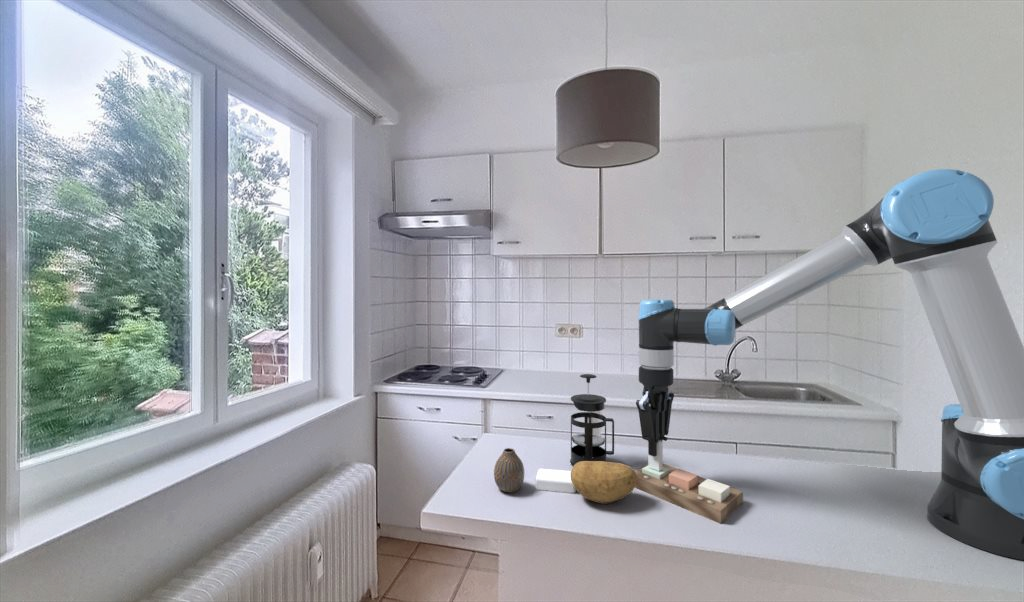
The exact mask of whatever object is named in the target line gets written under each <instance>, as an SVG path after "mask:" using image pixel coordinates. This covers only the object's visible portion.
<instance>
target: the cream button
mask: <svg viewBox="0 0 1024 602" xmlns="http://www.w3.org/2000/svg"><path fill="white" fill-rule="evenodd" d="M706 479H707V480H705V481H704V482H702V483H701V484H700V485H699V494H700V495H702V496H705V497H707V498H710V499H713V500H715V501H718V502H721V503H722V502H724V501H725V500H726V499H727V498H728V497H730V487H731V486H730V485H728V484H724V483H722V482H718V481H715V480H713V479H710V478H706Z"/></svg>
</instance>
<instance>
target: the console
mask: <svg viewBox="0 0 1024 602" xmlns="http://www.w3.org/2000/svg"><path fill="white" fill-rule="evenodd" d="M646 466H648V463H647V464H646V465H643V466H642V467H640V468H638V469H636V470H634V472H635V473H636V475H637V478H638V480H637V483H636V485H635V487H634V489H637V490H640V491H642V492H643V493H644V492H645V493H646V494H649V495H652V496H654V497H657V498H658V499H661V500H663V501H666V502H668V503H671V504H673V505H675V506H677V507H680V508H683V509H685V510H688V511H690V512H692V513H695V514H697V515H700V516H702V517H704V518H706V519H709V520H711V521H713V522H716V523H719V524H722V523H723V522H724V521H725V520H727V518H728V517H730V516H731V515H732V514H733V513H734V512H735V511H736V510H737V509H738V508H739V507H741V506H742V505H743V502H744V500H743V499H744V492H743V491H742V490H740V489H737V488H734V487H732V486H730V497H728V498H727V499H726V500H725V501H724V502H722V503H721V502H718V501H715V500H713V499H710V498H707V497H705V496H702V495H700V494H699V485H700V484H701V483H702V482H704V481H705V480H707V479H708V478H705V477H703V476H699V475H698V485H696V486H695V487H694V488H692V489H691V490H686V489H684V488H681V487H678V486H676V485H673V484H671V483H669V475H667V476H665V477H664V478H662V479H657V478H655V477H652V476H650V475H647V474H644V473H642V468H644V467H646ZM662 467H664V468H667V469H670V473H672V472H673V471H675V470H677V469H678V468H677V467H674V466H671V465H668V464H664V463H663V464H662Z"/></svg>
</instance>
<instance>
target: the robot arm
mask: <svg viewBox="0 0 1024 602" xmlns="http://www.w3.org/2000/svg"><path fill="white" fill-rule="evenodd" d="M994 201H995V199H994V195H993V192H992V190H991V188H990V187H989V185H988V184H987V183H986V182H985V181H984V180H983V179H981V177H978V176H977V175H975V174H972V173H970V172H968V171H967V172H966V171H964V170H960V169H959V170H957V169H952V168H941V169H932V170H927V171H924V172H920V173H917V174H915V175H913V176H910V177H908V178H907V179H902V181H900V182H899V183H897V184H895V185H894V186H893V187H891V188H890V190H888V191H887V192H886V194H885V195H884V197H883V198H881V199H880V201H878V202H877V203H876V204H874V206H873V207H872V208H871V209H869V210H868V211H867V212H865V213H864V214H863V215H861V216H860V217H858V218H857V219H855V220H854V221H852V222H850V223H848V224H847V225H845V226H843V228H842V229H841V233H840V234H838V235H837V236H835V237H833V238H831V239H830V240H828V241H826V242H824V243H822V244H820V245H819V246H816V247H815V248H814V249H811V250H809V251H808V252H805V253H804V254H802V255H800V256H798V257H797V258H795V259H793V260H791V261H789V262H788V263H785V264H784V265H782V266H780V267H778V268H777V269H774V270H773V271H771V272H769V273H767V274H766V275H764V276H762V277H760V278H758V279H756V280H755V281H753V282H751V283H750V284H748V285H746V286H743V287H742V288H740V289H738V290H736V291H735V292H733V293H730V294H729V295H727V296H725V297H724V298H722V299H719V300H718V301H716V302H714V303H711V304H710V305H708V306H706V307H705V308H679V307H676V306H675V303H674V301H673V300H672V299H662V298H661V299H652V298H651V299H643V300H641V301H640V303H639V312H638V314H639V315H638V364H639V365H640V366H639V367H638V382H639V383H640V384H642V385H643V389H642V393H641V395H642V397H641V399H636V401H635V405H636V408H637V412H638V417H639V425H640V431H641V432H640V433H641V438H642V440H645V441H647V443H648V444H647V448H648V452H647V453H648V454H647V456H648V457H647V458H648V459H647V460H648V463H647V464H648V467H649V468H652V469H655V470H658V471H660V470H662V464H664V463H663V462H664V461H663V458H664V455H663V450H664V448H663V445H664V444H663V441H664V442H666V441H668V437H667V436H669V432H670V430H669V429H670V424H671V423H670V422H671V415H672V414H671V413H672V404H673V401H674V397H675V393H674V392H670V391H669V387H670V386H672V385H673V384H674V369H673V366H674V365H675V364H674V354H675V352H674V351H675V350H674V348H675V347H674V343H686V344H687V343H690V344H698V345H699V344H701V345H712V346H730V345H732V344H733V343H734V342H735V337H736V330H737V329H739V328H741V327H743V326H744V325H747V324H748V323H751V322H753V321H755V320H757V319H759V318H761V317H763V316H765V315H767V314H768V313H769V314H770V313H771V312H773V311H775V310H777V309H779V308H781V307H783V306H785V305H787V304H789V303H791V302H793V301H795V300H797V299H800V298H801V297H803V296H806V295H807V294H810V293H812V292H813V291H815V290H817V289H819V288H822V287H823V286H825V285H826V286H827V285H828V284H830V283H832V282H834V281H836V280H838V279H840V278H842V277H844V276H846V275H848V274H849V273H852V272H854V271H856V270H858V269H860V268H862V267H864V266H873V267H874V266H878V265H881V264H883V263H885V262H887V261H888V260H892V261H893V263H894V264H893V265H894V266H895V267H896V268H899V269H901V270H904V271H907V272H909V274H911V277H912V280H913V282H914V283H913V284H914V285H915V288H916V291H917V293H918V296H919V298H920V301H921V303H922V306H923V309H924V312H925V315H926V317H927V320H928V322H929V325H930V328H931V330H932V332H933V335H934V338H935V341H936V344H937V346H938V349H939V351H940V354H941V357H942V359H943V361H944V365H945V368H946V370H947V372H948V376H949V378H950V380H951V383H952V386H953V388H954V391H955V394H956V397H957V399H958V402H959V404H958V403H957V404H956V403H952V404H951V403H950V404H946V405H945V406H944V407H943V409H942V415H941V418H940V421H941V463H940V464H941V465H940V466H941V469H940V470H941V471H940V472H941V475H940V477H941V478H940V479H941V480H940V482H939V484H938V486H937V488H936V489H935V491H934V493H933V495H932V497H931V499H930V500H929V502H928V504H927V508H926V509H927V510H926V511H927V512H926V513H927V515H926V518H927V520H928V521H929V523H930V524H931V525H932V526H933V527H935V528H936V529H937V530H939V531H940V532H942V533H944V534H945V535H947V536H949V537H951V538H953V539H955V540H957V541H959V542H962V543H964V544H967V545H969V546H972V547H974V548H978V549H980V550H982V551H986V552H989V553H991V554H996V555H999V556H1003V557H1006V558H1011V559H1014V560H1015V559H1016V560H1021V561H1024V345H1023V342H1022V339H1021V337H1020V335H1019V332H1018V330H1017V327H1016V325H1015V322H1014V319H1013V318H1012V315H1011V312H1010V310H1009V308H1008V305H1007V302H1006V300H1005V297H1004V295H1003V293H1002V290H1001V288H1000V285H999V283H998V280H997V278H996V275H995V273H994V270H993V268H992V265H991V263H990V261H989V258H988V255H989V253H990V252H991V251H992V249H993V248H995V246H996V245H997V244H998V239H997V237H996V235H995V233H994V230H993V228H992V225H991V222H990V221H989V219H990V217H991V215H992V212H993V209H994Z"/></svg>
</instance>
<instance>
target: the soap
mask: <svg viewBox="0 0 1024 602" xmlns="http://www.w3.org/2000/svg"><path fill="white" fill-rule="evenodd" d="M571 471H572V470H562V469H549V468H539V469H538V470H537V474H536V477H535V480H534V481H535V489H536V490H537V489H538V490H537V491H545V490H548V491H547V492H555V491H557V493H566V494H567V493H568V494H575V493H576V491H577V490H576V488H575V487H574V485H573V483H572V481H571Z"/></svg>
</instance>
